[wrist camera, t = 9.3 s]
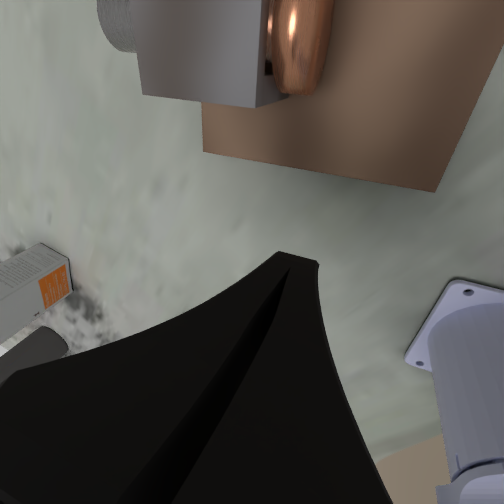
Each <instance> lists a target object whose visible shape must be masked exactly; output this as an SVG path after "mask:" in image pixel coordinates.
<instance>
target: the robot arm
mask: <svg viewBox="0 0 504 504" xmlns="http://www.w3.org/2000/svg"><path fill="white" fill-rule="evenodd" d="M318 268H319V264H318V262H317V261H315V260H312V259H308V258H304V257H300V256H296V255H293V254H289V253H285V252H281V251H278V252H276V253H275V254H274V255H272V256H271V257H270V258H269V259H267V260H266V261H265V262H264V263H262V264H261V265H260V266H258V267H257V268H256V269H255V270H253V271H252V272H250V273H249V274H248V275H246V276H245V277H243V278H242V279H241V280H239V281H238V282H236V283H235V284H233V285H232V286H230V287H229V288H227V289H225V290H224V291H222V292H221V293H219V294H217V295H216V296H214V297H212V298H211V299H209V300H207V301H206V302H204V303H202V304H200V305H198V306H196V307H195V308H193V309H191V310H189V311H187V312H185V313H183V314H181V315H179V316H176V317H174V318H172V319H170V320H168V321H165V322H163V323H161V324H159V325H156V326H154V327H151V328H149V329H147V330H144V331H142V332H140V333H137V334H134V335H132V336H129V337H126V338H123V339H120V340H118V341H115V342H112V343H109V344H106V345H103V346H100V347H97V348H94V349H91V350H88V351H85V352H81V353H78V354H75V355H71V356H68V357H64V358H61V359H57V360H53V361H50V362H46V363H43V364H39V365H36V366H32V367H28V368H24V369H21V370H17V371H15V372H14V373H13V374H11V375H10V376H9V377H8V378H6V379H5V380H4V381H3V382H2V383H0V504H393V502H392V500H391V498H390V496H389V494H388V492H387V490H386V488H385V486H384V484H383V481H382V479H381V477H380V475H379V473H378V471H377V468H376V466H375V464H374V462H373V460H372V458H371V455H370V453H369V451H368V449H367V447H366V444H365V442H364V439H363V437H362V435H361V432H360V430H359V427H358V425H357V422H356V420H355V418H354V415H353V413H352V410H351V408H350V406H349V403H348V401H347V398H346V396H345V393H344V390H343V387H342V384H341V382H340V379H339V376H338V373H337V370H336V367H335V364H334V360H333V357H332V354H331V351H330V347H329V343H328V339H327V335H326V331H325V327H324V323H323V317H322V312H321V306H320V299H319V291H318ZM466 289H472V290H471V291H469V292H464V290H466ZM404 359H405V362H406V363H407V364H410V365H412V366H415V367H418V368H421V369H424V370H427V371H430V372H432V374H433V380H434V386H435V392H436V397H437V403H438V409H439V415H440V421H441V427H442V432H443V438H444V444H445V450H446V456H447V461H448V467H449V473H450V479H451V483H450V484H446V485H439V486H436V495H437V502H438V504H504V290H500V289H496V288H492V287H488V286H484V285H480V284H476V283H471V282H467V281H463V280H453V281H451V282H450V283H449V284H448V285H447V287H446V288H445V290H444V292H443V293H442V295H441V297H440V298H439V300H438V302H437V303H436V305H435V306H434V308H433V310H432V311H431V313H430V315H429V316H428V318H427V319H426V321H425V323H424V324H423V326H422V328H421V329H420V331H419V332H418V334H417V336H416V337H415V339H414V341H413V342H412V344H411V345H410V347H409V349H408V350H407V352H406V354H405V356H404ZM419 361H421V362H419Z"/></svg>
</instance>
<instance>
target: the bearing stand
mask: <svg viewBox="0 0 504 504" xmlns="http://www.w3.org/2000/svg"><path fill="white" fill-rule="evenodd" d="M129 3H130V10H131V17H132V24H133V31H134V38H135V45H136V52H137V59H138V66H139V73H140V79H141V86H142V93H143V95H150V96H158V97H166V98H174V99H182V100H190V101H199V102H201V106H202V132H203V152H208V153H213V154H219V155H225V156H230V157H236V158H242V159H247V160H253V161H259V162H264V163H270V164H276V165H281V166H287V167H293V168H298V169H304V170H310V171H315V172H321V173H327V174H332V175H338V176H344V177H349V178H355V179H361V180H366V181H372V182H378V183H383V184H389V185H394V186H400V187H406V188H411V189H417V190H423V191H428V192H434V193H435V191H436V189H437V187H438V185H439V183H440V180H441V178H442V176H443V174H444V172H445V170H446V167H447V165H448V163H449V161H450V159H451V157H452V154H453V152H454V150H455V148H456V146H457V144H458V142H459V139H460V137H461V135H462V133H463V131H464V129H465V126H466V124H467V122H468V120H469V118H470V116H471V113H472V111H473V109H474V107H475V105H476V103H477V100H478V98H479V96H480V94H481V92H482V90H483V87H484V85H485V83H486V81H487V79H488V77H489V75H490V72H491V70H492V68H493V66H494V64H495V62H496V59H497V57H498V55H499V53H500V51H501V49H502V46H503V44H504V0H335V7H334V14H333V21H332V27H331V33H330V39H329V44H328V49H327V53H326V58H325V62H324V66H323V70H322V73H321V77H320V80H319V83H318V86H317V88H316V90H315V92H314V93H313V95H311V96H307V95H298V94H288V93H281V92H279V90H278V89H277V87H276V84H275V80H274V75H273V68H272V63H265V60H266V47H267V33H268V19H269V5H270V0H129Z"/></svg>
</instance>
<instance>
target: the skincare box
mask: <svg viewBox="0 0 504 504" xmlns="http://www.w3.org/2000/svg"><path fill="white" fill-rule="evenodd" d="M72 292H73V291H72V286H71V279H70V271H69V261H68V258H66V257H64V256H63V255H61V254H59V253H57V252H55V251H53V250H52V249H50V248H48V247H47V246H45V245H43V244H41V243H39V244H37V245H35V246H33V247H31V248H29V249H27V250H25V251H23V252H21V253H19V254H17V255H15V256H14V257H12V258H10V259H8V260H6V261H4V262H2V263H0V344H2V343H3V342H5V341H6V340H7V339H9V338H10V337H12V336H13V335H14V334H16V333H17V332H18V331H20V330H21V329H23V328H24V327H25V326H27V325H28V324H30V323H31V322H32V321H34V320H35V319H36V318H38V317H39V316H41V315H42V314H43V313H45V312H46V311H47V310H49V309H50V308H52V307H53V306H54V305H56V304H57V303H59V302H60V301H61V300H63V299H64V298H65V297H67V296H68V295H70V294H71V293H72Z"/></svg>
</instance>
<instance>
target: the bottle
mask: <svg viewBox="0 0 504 504" xmlns="http://www.w3.org/2000/svg"><path fill="white" fill-rule="evenodd" d="M67 351H68V346H67V344H66V343H65V341H64V340H63V339H62V338H61V337H60V336H59V335H58V334H57V333H55V332H54V331H52V330H51V329H49V328H47V327H40V328H38V329H37V330H36V331H34V332H33V333H32V334H30V335H29V336H28V337H26V338H25V339H24V340H22V341H21V342H20V343H18V344H17V345H16V346H14V347H13V348H12V349H10V350H9V351H8V352H6V353H5V354H4V355H2V356H1V357H0V383H2V382H3V381H4V380H5V379H6V378H8V377H9V376H10V375H11V374H13V373H14V372H15V371H17V370H21V369H24V368H28V367H32V366H36V365H39V364H43V363H46V362H50V361H53V360H57V359H59V358H61V357H62V356H63V355H64V354H65V353H66V352H67Z"/></svg>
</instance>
